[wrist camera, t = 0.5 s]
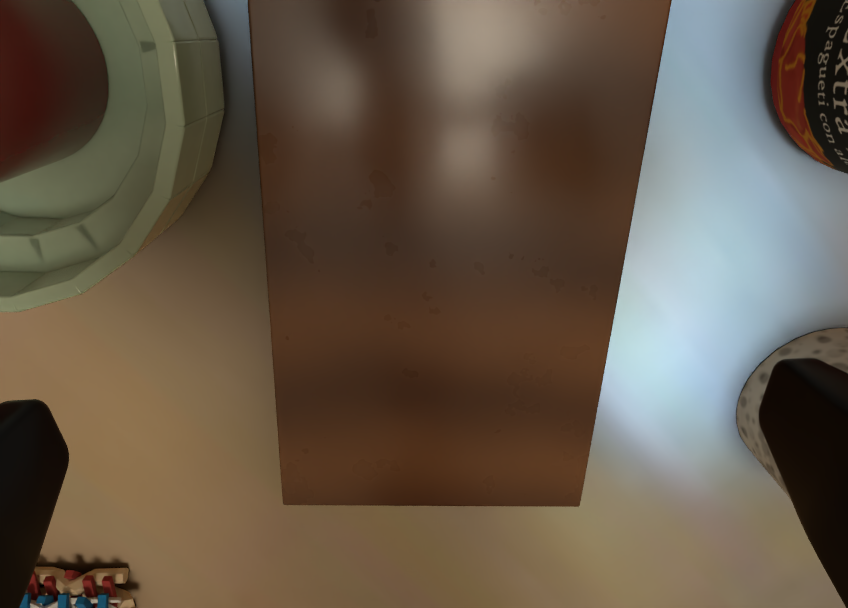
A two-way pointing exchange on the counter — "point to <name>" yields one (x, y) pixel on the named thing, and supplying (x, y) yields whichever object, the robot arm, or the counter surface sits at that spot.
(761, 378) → the mug
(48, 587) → the woven mat
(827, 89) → the canned food
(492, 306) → the cutting board
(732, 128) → the counter surface
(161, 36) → the bowl
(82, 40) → the drink can
